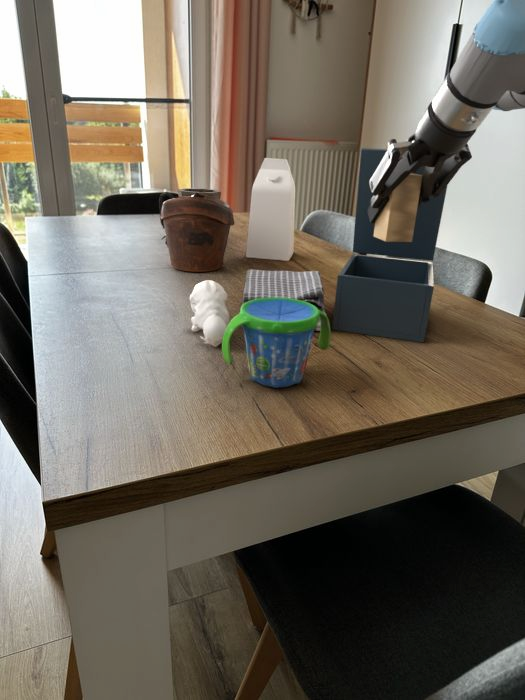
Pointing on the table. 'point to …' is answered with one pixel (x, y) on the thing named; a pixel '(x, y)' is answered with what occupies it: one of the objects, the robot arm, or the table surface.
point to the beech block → (400, 212)
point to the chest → (384, 297)
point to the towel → (285, 287)
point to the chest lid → (364, 230)
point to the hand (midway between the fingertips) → (385, 217)
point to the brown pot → (196, 231)
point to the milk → (272, 212)
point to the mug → (189, 193)
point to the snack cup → (277, 338)
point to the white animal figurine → (209, 311)
